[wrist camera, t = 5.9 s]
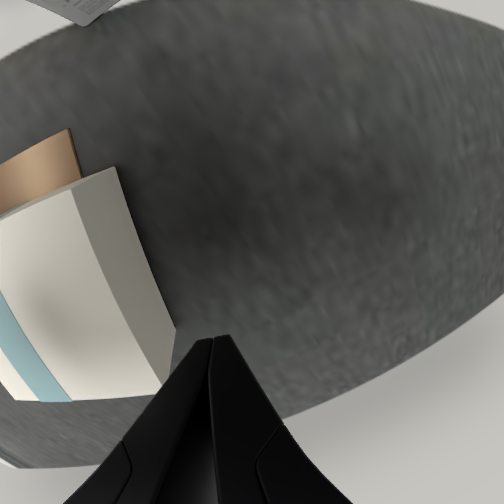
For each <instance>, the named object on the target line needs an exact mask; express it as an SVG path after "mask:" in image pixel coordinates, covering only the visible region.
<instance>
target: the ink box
mask: <svg viewBox="0 0 504 504" xmlns="http://www.w3.org/2000/svg"><path fill="white" fill-rule="evenodd" d="M27 1H29V2H31V3H34V4H37V5H39V6H41V7H43V8H46V9H48V10H50V11H52V12H54V13H56V14H58V15H60V16H62V17H64V18H66V19H68V20H70V21H72V22H74V23H76V24H78V25H80V26H83V27H84V26H87V25H88V24H90V23H91V22H92V21H93V20H95V19H96V18H97V17H98V16H100V15H101V14H102V13H104V12H105V11H106V10H108V9H109V8H110V7H112V6H113V5H114V4H116V3H117V2H119V1H120V0H27Z"/></svg>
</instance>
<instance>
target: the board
mask: <svg viewBox="0 0 504 504" xmlns="http://www.w3.org/2000/svg"><path fill="white" fill-rule="evenodd" d="M82 178H83V176H82V173H81V169H80V166H79V163H78V159H77V156H76V152H75V149H74V145H73V141H72V138H71V134H70V130H69V129H66V130H63V131H61V132H59V133H57V134H55V135H53V136H51V137H49V138H47V139H45V140H44V141H42V142H40V143H38V144H36V145H34V146H32V147H30V148H29V149H27V150H25V151H23V152H21V153H20V154H18V155H16V156H15V157H13V158H11V159H9V160H8V161H6V162H5V163H3V164H1V165H0V214H2V213H4V212H6V211H8V210H10V209H12V208H14V207H16V206H18V205H20V204H23V203H25V202H27V201H31V200H33V199H35V198H38V197H40V196H42V195H44V194H46V193H49V192H51V191H53V190H56V189H58V188H60V187H63V186H65V185H67V184H70V183H72V182H75V181H77V180H80V179H82Z"/></svg>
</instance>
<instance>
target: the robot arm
mask: <svg viewBox="0 0 504 504" xmlns="http://www.w3.org/2000/svg"><path fill="white" fill-rule="evenodd" d="M63 504H353V503H352V502H351V501H350V500H348V498H347V497H345V496H344V495H343V494H342V493H341V492H340V491H339V490H338V489H337V488H336V487H335V486H334V485H333V484H332V483H331V482H330V481H329V480H328V479H327V478H326V477H325V476H324V475H323V474H322V473H321V472H320V471H319V469H318V468H317V467H316V466H315V465H314V464H313V463H312V462H311V461H310V459H309V458H308V457H307V456H306V455H305V453H304V452H303V450H302V449H301V448H300V447H299V445H298V444H297V442H296V441H295V440H294V438H293V436H292V435H291V434H290V432H289V430H288V429H287V427H286V426H285V425H284V423H283V421H282V420H281V418H280V417H279V415H278V413H277V412H276V410H275V409H274V407H273V405H272V404H271V402H270V401H269V399H268V397H267V396H266V394H265V393H264V391H263V389H262V388H261V386H260V384H259V383H258V381H257V379H256V378H255V376H254V374H253V373H252V371H251V369H250V368H249V366H248V364H247V363H246V361H245V359H244V358H243V356H242V354H241V353H240V351H239V349H238V347H237V346H236V344H235V342H234V340H233V339H232V337H231V336H230V335H229V334H227V335H222V336H217V337H215V338H214V339H213V338H206V339H201V340H197V341H196V342H195V343H194V344H193V346H192V347H191V348H190V350H189V351H188V352H187V354H186V355H185V356H184V358H183V359H182V360H181V362H180V363H179V364H178V366H177V367H176V368H175V369H174V371H173V372H172V373H171V375H170V376H169V377H168V379H167V380H166V381H165V383H164V384H163V385H162V387H161V388H160V389H159V390H158V392H157V393H156V394H155V396H154V397H153V398H152V400H151V401H150V402H149V403H148V405H147V406H146V407H145V409H144V410H143V411H142V413H141V414H140V415H139V416H138V418H137V419H136V420H135V422H134V423H133V424H132V426H131V427H130V428H129V429H128V431H127V432H126V433H125V435H124V436H123V437H122V440H120V441H119V442H118V443H117V445H116V446H115V447H114V449H113V450H112V451H111V452H110V454H109V455H108V456H107V457H106V459H105V460H104V461H103V462H102V463H101V465H100V466H99V467H98V468H97V469H96V470H95V471H94V473H93V474H92V475H91V476H90V477H89V478H88V479H87V480H86V481H85V482H84V483H83V484H82V485H81V486H80V487H79V488H78V489H77V490H76V491H75V492H74V493H73V494H72V495H71V496H70V497H69V498H68V499H67V500H66V501H65V502H64V503H63Z"/></svg>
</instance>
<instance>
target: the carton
mask: <svg viewBox="0 0 504 504" xmlns="http://www.w3.org/2000/svg"><path fill="white" fill-rule="evenodd" d="M175 334H176V329H175V326H174V324H173V322H172V320H171V317H170V315H169V313H168V311H167V308H166V306H165V304H164V301H163V299H162V296H161V294H160V292H159V289H158V287H157V284H156V282H155V279H154V277H153V274H152V272H151V269H150V267H149V264H148V262H147V259H146V257H145V254H144V251H143V249H142V246H141V243H140V241H139V238H138V235H137V232H136V229H135V227H134V224H133V221H132V218H131V215H130V212H129V209H128V206H127V203H126V200H125V197H124V194H123V191H122V188H121V185H120V182H119V179H118V175H117V172H116V169H115V166H114V167H111V168H108V169H106V170H103V171H100V172H98V173H95V174H92V175H90V176H87V177H85V178H82V179H80V180H77V181H75V182H72V183H70V184H67V185H65V186H63V187H60V188H58V189H56V190H53V191H51V192H49V193H46V194H44V195H42V196H40V197H38V198H35V199H33V200H31V201H27V202H25V203H23V204H20V205H18V206H16V207H14V208H12V209H10V210H8V211H6V212H4V213H2V214H0V381H1V383H2V384H3V385H4V387H5V388H6V389H7V390H8V392H9V393H10V394H11V395H12V396H13V398H14V399H15V400H36V401H40V402H72V401H73V400H90V399H107V398H120V397H132V396H142V395H151V394H156V393H157V392H158V390H159V389H160V388H161V387H162V385H163V384H164V383H165V381H166V380H167V379H168V377H169V372H170V365H171V359H172V352H173V346H174V340H175Z"/></svg>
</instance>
